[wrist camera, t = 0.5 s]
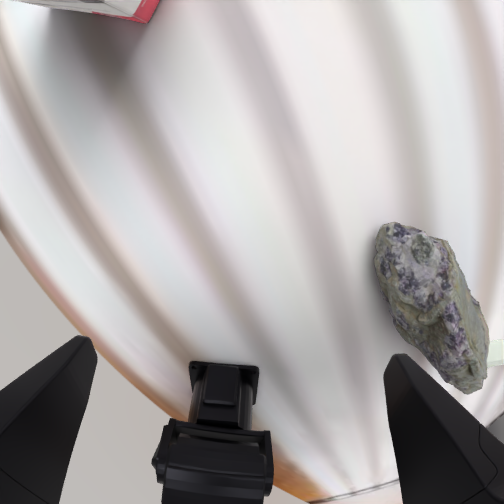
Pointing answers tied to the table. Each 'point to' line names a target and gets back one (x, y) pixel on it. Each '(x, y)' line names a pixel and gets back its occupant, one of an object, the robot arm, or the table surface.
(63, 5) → the ink box
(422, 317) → the mineral rock
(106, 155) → the table surface
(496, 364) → the pale grey u-shaped frame
